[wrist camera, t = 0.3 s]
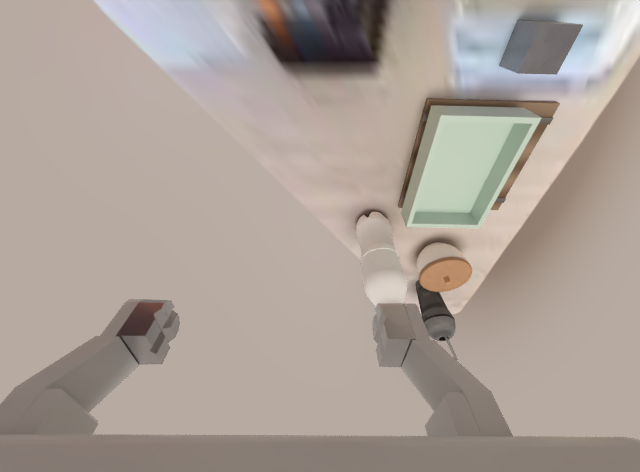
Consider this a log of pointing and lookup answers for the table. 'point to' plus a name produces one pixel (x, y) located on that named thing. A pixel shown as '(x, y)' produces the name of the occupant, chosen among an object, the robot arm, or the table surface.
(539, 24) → the metal block
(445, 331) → the beverage cup
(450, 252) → the lidded jar
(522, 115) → the mint green tray
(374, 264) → the water bottle
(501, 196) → the track
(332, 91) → the table surface
